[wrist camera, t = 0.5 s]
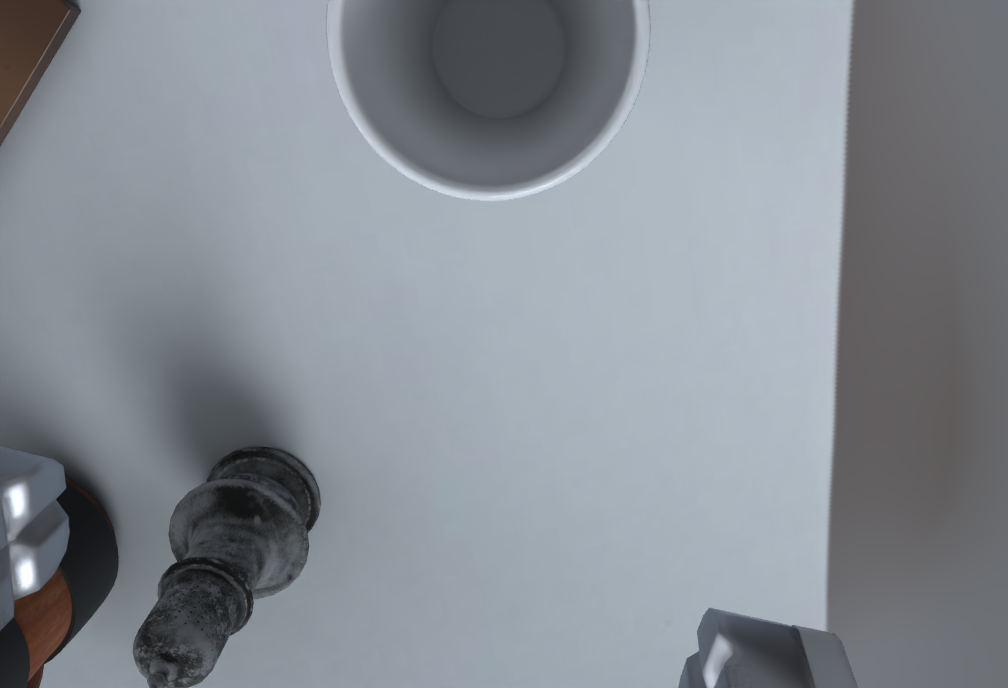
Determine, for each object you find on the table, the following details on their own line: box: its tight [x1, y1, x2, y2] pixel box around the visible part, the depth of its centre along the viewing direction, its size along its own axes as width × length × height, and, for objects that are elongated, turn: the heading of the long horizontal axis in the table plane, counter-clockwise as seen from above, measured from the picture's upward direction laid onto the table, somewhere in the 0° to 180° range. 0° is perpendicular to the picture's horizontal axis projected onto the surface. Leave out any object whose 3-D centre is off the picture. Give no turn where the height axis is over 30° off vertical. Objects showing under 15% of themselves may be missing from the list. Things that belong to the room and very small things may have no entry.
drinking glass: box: [326, 0, 651, 201], centre depth 23 cm, size 7×7×15 cm
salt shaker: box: [133, 447, 321, 688], centre depth 31 cm, size 6×6×12 cm
